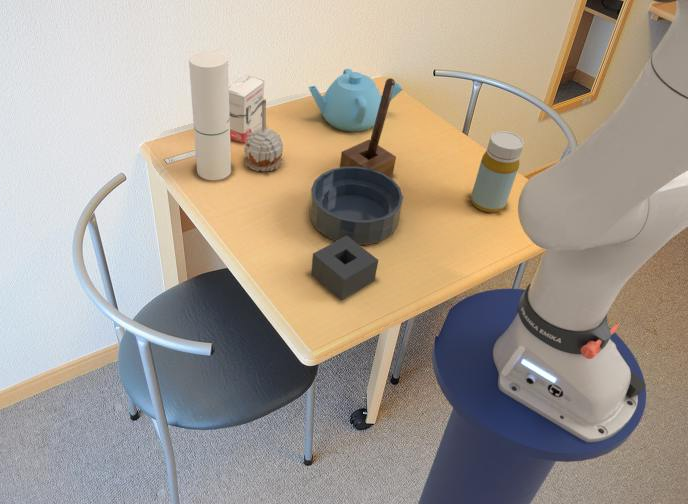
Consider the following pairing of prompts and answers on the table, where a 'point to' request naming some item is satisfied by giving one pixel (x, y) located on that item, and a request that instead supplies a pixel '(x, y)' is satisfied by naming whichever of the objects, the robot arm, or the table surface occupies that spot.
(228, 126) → the cylindrical container
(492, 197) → the bottle
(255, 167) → the grey round-headed piece
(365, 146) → the holder
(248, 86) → the ink box
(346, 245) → the stand
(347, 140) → the table surface
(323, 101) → the teapot
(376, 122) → the stick
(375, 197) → the bowl
